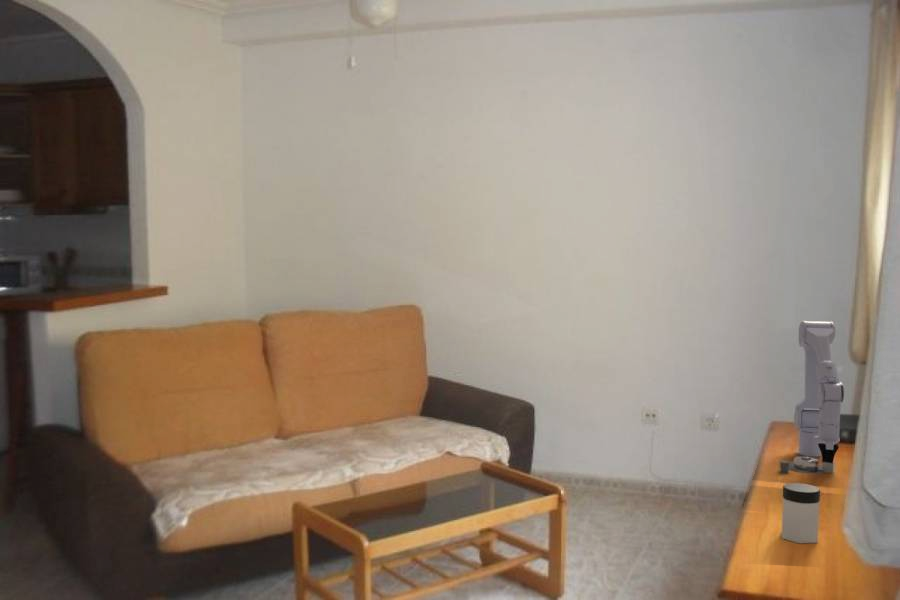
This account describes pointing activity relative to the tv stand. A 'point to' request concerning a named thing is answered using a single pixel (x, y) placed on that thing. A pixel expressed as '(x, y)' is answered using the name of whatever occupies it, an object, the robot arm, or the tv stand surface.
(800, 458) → the cover
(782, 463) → the stacked blocks
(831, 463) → the turntable
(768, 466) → the tv stand surface
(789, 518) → the jar
